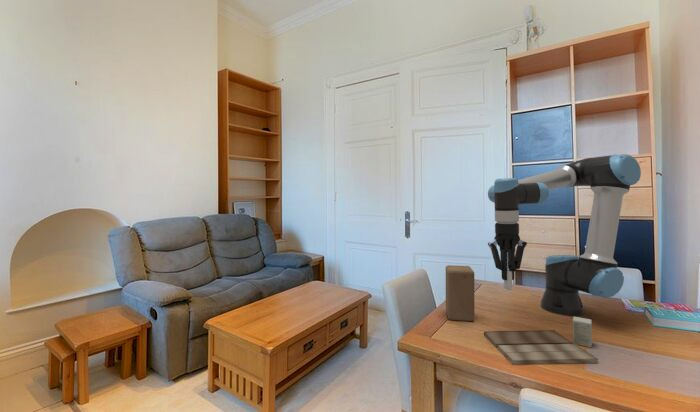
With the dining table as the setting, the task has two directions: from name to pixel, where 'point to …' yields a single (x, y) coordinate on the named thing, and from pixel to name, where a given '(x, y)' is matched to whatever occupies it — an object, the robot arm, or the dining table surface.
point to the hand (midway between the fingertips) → (508, 288)
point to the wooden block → (460, 293)
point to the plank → (525, 337)
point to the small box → (582, 331)
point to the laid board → (546, 354)
